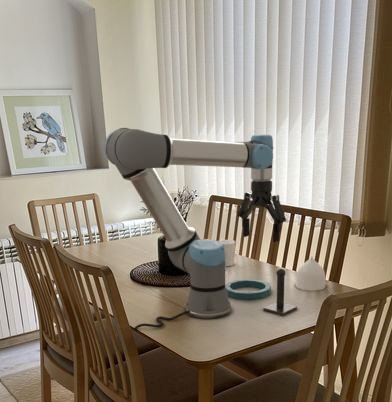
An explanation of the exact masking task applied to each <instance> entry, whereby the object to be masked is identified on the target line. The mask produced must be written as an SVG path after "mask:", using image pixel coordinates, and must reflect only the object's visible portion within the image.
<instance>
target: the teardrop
mask: <svg viewBox="0 0 392 402" xmlns="http://www.w3.org/2000/svg"><path fill="white" fill-rule="evenodd" d="M295 287H296V288H297V289H299V290H300V291H301V290H302V291H309V292H313V291H314V292H315V291H321V290H324V289H326V271H325V270H324V267H323V266H322V265H320V264H319V263H318V262H317V261H316V260H315V259H314V257H313V255H311V256H310V258H309V259H308V260H306V261H305V262H303V263H302V264H301V265H300V266H299V268H298V269H297V272H296V278H295Z"/></svg>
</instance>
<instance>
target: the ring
mask: <svg viewBox="0 0 392 402" xmlns="http://www.w3.org/2000/svg"><path fill="white" fill-rule="evenodd" d="M245 287H246V288H247V287H248V288H256V289H260V290H254V291H242V290H241V291H240V290H236V289H237V288H245ZM225 289H226V292H227V296H228V298H231V299H235V300H246V301H251V300H252V301H253V300H260V299H264V298H266V297H268V296H270V295H271V292H272V285H271V284H270V283H268V281H265V280H260V279H251V278H244V279H234V280H231V281H228V282H226V283H225Z"/></svg>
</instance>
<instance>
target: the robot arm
mask: <svg viewBox="0 0 392 402" xmlns="http://www.w3.org/2000/svg"><path fill="white" fill-rule="evenodd" d="M103 146H104V154H105V156H106V158H107V161H109V162H110V164H112V165H114V166H115V168H116V169H117V171H118V172H119V174H120V175H121V178H123V180H126V181H129V182H130V183H131V184H132V186H133V188H134V189H135V190H136V193H137V195H138V196H139V197H140V199H141V200H142V202H143V204H144V205H145V207H146V209H147V210H148V212H149V214H150V215H151V217H152V219H153V220H154V222H155V224H156V225H157V227H158V228H159V230H160V232H161V234H162V235H163V237H164V238H165V241H164V242H165V243H164V247H165V248H166V250H167V253H168V256H169V257H168V258H169V260H170V261H171V262H172V264H173V265H174V266H175V267H176V268H177V269H180V270H181V271H184V272H185V273H187V274H188V275H189V282H190V283H189V284H190V289H189V294H188V297H187V302H186V304H185V311H183V312H180V313H177V314H176V315H174V316H171V317H166V316H162V315H161V316H157V317H156V318H155V320H156V322H157V323H158V324H152V323H139V324H137V325H135V327H133V329H132V331H137V330H138V329H139V328H141V327H149V328H161V327H163V326H164V322H163V321H162V320H165V321H173V320H176V319H177V318H180V317H182V316H184V315H185V316H186V315H188V316H190V317H192V318H196V319H202V320H203V319H205V320H210V319H219V318H222V317H226V316H228V315H230V313H231V312H232V305H231V301H230V300H229V297H228V296H227V292H226V289H225V285H226V266H225V258H226V256H225V249H224V246H223V245H222V244H221V243H220V242H218V241H219V240H215V239H207V238H200V236H199V234H198V233H197V230H196V229H195V228H194V227H193V226H188V224H187V223H186V221H185V219H184V217H183V216H182V214H181V212H180V211H179V208H178V207H177V205H176V204H175V202H174V200H173V199H172V197H171V194H170V193H169V191H168V190H167V188H166V186H165V184H164V183H163V181H162V180H161V178H160V176H159V174H158V173H157V171H156V169H168V167H169V166H193V167H218V168H219V167H221V168H223V167H224V168H243V169H244V168H246V169H250V180H251V181H250V191H247V192H245V193H244V195H243V200H242V202H241V205H240V207H239V210H238V212H237V217H238V218H241V227H242V228H243V229H242V231H243V232H242V233H243V238H246V237H249V236H250V229H251V227H250V224H251V223H250V220H251V219H250V218H249V217H250V215H251V214H252V212H253V211H254V210H255V208H256V207H260V208H264V209H266V211H267V212H268V214H269V215H270V216H271V218H272V221H274V223H273V225H272V226H273V227H272V242H273V243H276V242H279V241H280V233H281V232H282V223H286V222H287V217H286V215H285V212H284V209H283V206H282V204H281V202H280V195H279V194H275V195H272V191H273V181H272V179H273V165H274V164H273V163H274V162H273V161H274V140H273V136H272V134H267V133H266V134H253V135H251V138H250V140H249V141H233V142H231V141H217V140H216V141H214V140H202V139H201V140H198V139H183V138H171V137H170V136H169V135H168V134H160V133H154V132H150V131H145V130H141V129H137V128H128V127H120V128H117V129H115V130H113V131H111V132H110V133H109V134H108V135H107V137H106V138H105V142H104V145H103Z"/></svg>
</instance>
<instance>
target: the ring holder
mask: <svg viewBox="0 0 392 402" xmlns="http://www.w3.org/2000/svg"><path fill="white" fill-rule="evenodd" d="M275 274H276V302H273V303H271V304H268V305H267V306H264V307H263V310H262V311H264V312H267V313H271V314H274V315H278V316H281V317H284V316H286V315H288V314H290V313H292V312H294V311H296V310H297V309H298V306H296V305H292V304H289V303H285V281H286V280H285V279H286V278H285V277H286V270H285V269H284V268H281V267H280V268H278V269H277V270H276V272H275Z"/></svg>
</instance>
